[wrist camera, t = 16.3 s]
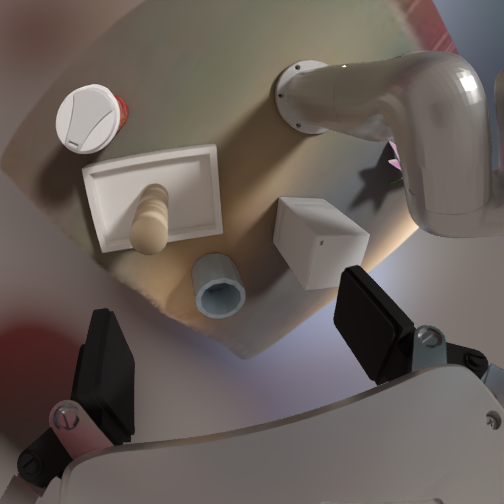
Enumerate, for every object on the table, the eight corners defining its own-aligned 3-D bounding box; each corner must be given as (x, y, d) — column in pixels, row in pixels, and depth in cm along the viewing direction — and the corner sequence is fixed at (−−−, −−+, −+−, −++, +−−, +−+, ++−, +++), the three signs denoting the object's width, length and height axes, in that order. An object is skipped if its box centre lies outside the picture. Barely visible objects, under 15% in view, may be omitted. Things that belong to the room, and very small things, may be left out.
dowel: (166, 181, 42) (164, 216, 30) (170, 208, 44) (170, 251, 33) (138, 185, 41) (125, 222, 30) (143, 212, 44) (133, 257, 32)
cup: (234, 249, 52) (244, 274, 45) (236, 286, 56) (246, 313, 49) (188, 257, 51) (192, 283, 44) (195, 293, 55) (199, 322, 48)
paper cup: (120, 146, 39) (98, 167, 27) (79, 127, 35) (42, 141, 23) (145, 100, 36) (131, 99, 24) (102, 81, 33) (71, 73, 21)
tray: (213, 143, 42) (216, 145, 40) (220, 226, 49) (223, 233, 47) (87, 164, 38) (81, 168, 36) (105, 244, 45) (102, 253, 43)
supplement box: (271, 243, 53) (302, 292, 41) (277, 196, 49) (315, 234, 37) (315, 242, 56) (355, 287, 43) (324, 198, 52) (371, 234, 39)
